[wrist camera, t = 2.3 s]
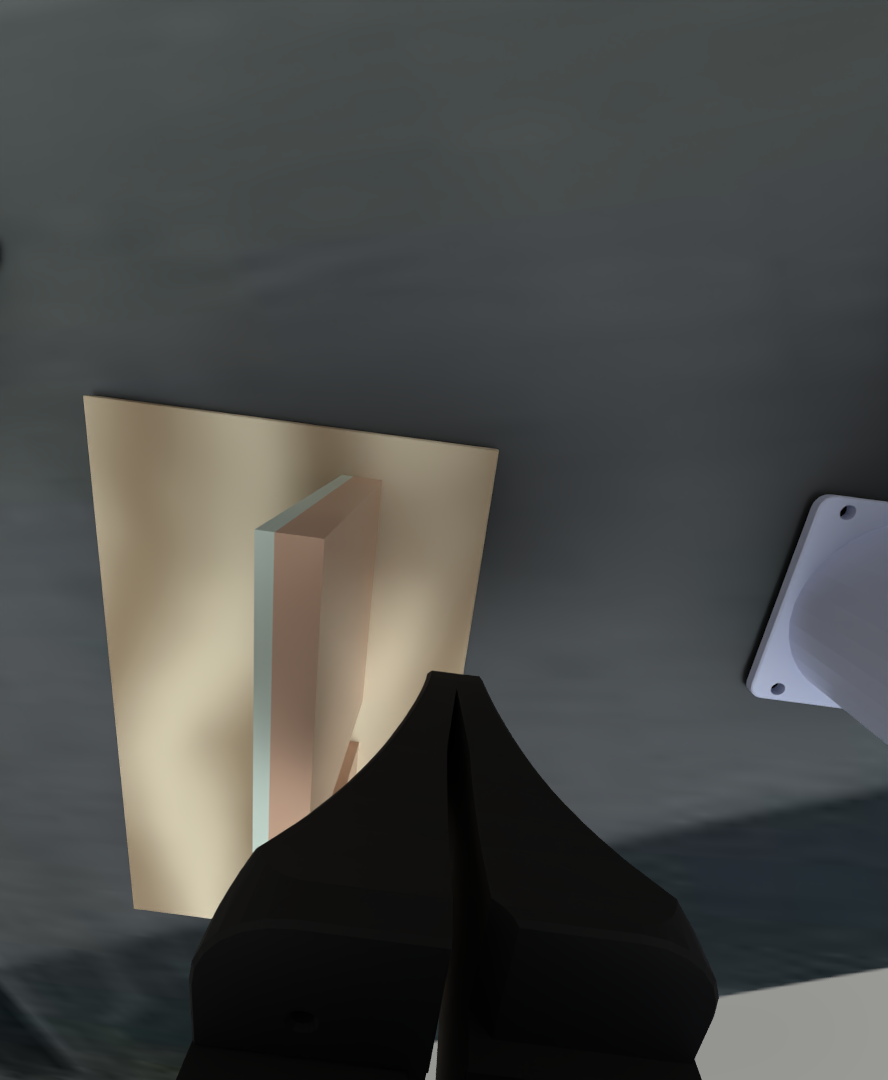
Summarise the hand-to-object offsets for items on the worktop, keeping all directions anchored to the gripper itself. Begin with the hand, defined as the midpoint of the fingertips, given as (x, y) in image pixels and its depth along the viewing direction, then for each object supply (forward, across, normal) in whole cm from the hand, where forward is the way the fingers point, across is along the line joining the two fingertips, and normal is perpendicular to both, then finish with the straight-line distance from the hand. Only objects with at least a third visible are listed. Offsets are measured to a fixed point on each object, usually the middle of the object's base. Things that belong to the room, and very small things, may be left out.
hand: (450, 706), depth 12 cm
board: (+6, +6, +6) cm, 11 cm away
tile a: (+6, +4, 0) cm, 7 cm away
